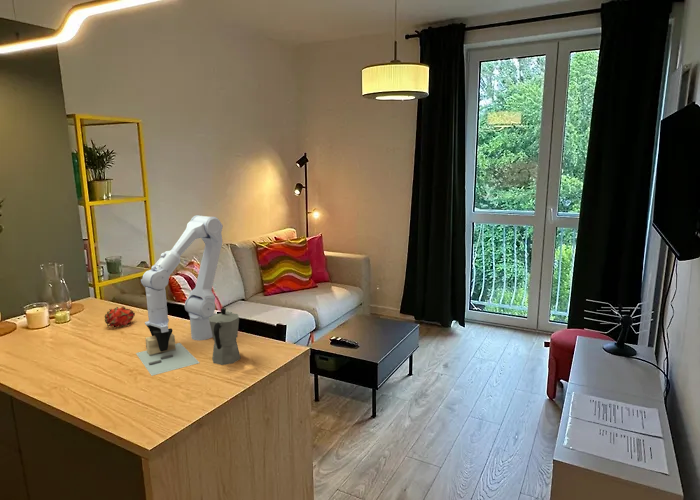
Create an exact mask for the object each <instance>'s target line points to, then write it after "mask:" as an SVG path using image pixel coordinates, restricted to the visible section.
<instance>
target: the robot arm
mask: <svg viewBox="0 0 700 500" xmlns="http://www.w3.org/2000/svg"><path fill="white" fill-rule="evenodd" d="M223 228H224V225H223V224H222V222H221V221H220V219H219V218H218V217H216V216H206V215H201V214H200V215H199V214H197V215H194V216H192V217H191V219H190V221H188V223H187V224H186V228H185V229H184V231H183V232H182V234H181V235H180V237H179V238H178V240H177V241H176V242H175V244H174V245H173V247H172V248H171V250H166V251H164V252H161V254H160V257H159V258H158V260H157V261H156V262H155V264H153V265H152V266H151V269H149V270H146V271H145V272H144V273H143V275H142V278H141V279H140V283H141V285H142V286H143V287H144V288H145V290H144V291H145V297H146V306H147V307H146V308H147V315H148V320H147V321H144V324H145V326H146V327H147V328H148V331H149V332H150V335H151V336H155V337H156V339H157V342H158V346H159V349H160V351H165V350H167V349H168V344H169V338H170V336H171V333H172V334H173V328H169V321H170V318H169V315H168V314H169V313H168V306H167V304H168V303H167V293H166V287H167V286H168V285H169V279H170V277H171V276H170V275H172V273H174V270H176V269H177V267H178V266H179V264H180V263H181V256H182V255H183V253H184V252H186V251H187V249H189V247H190V246H191V244H192V243H193V242H194V241H196V240H197V239H201V240H202V241H203V243H204V249H203V254H202V258H201V261H200V266H199V270H198V274H197V278H196V282H195V287H194V288H193V289H192V290H191V291H190V292H189V295H188V297H187V298H186V299H185V301H184V310H185V311H186V312H187V313H188V316H189V321H190V322H189V323H190V324H189V325H190V336H191V340H193V341H206V340H209V339H213V335H212V331H211V326H210V322H209V317H211V316H213V315H215V314H216V313H215V311H216V296H215V294H214V293H213V291H212V290H213V285H214V281H215V276H216V271H217V268H218V264H219V259H220V254H221V249H222V246H223V245H222V244H223V235H222V231H223Z"/></svg>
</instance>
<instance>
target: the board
mask: <svg viewBox="0 0 700 500" xmlns="http://www.w3.org/2000/svg"><path fill="white" fill-rule="evenodd" d="M175 347H176V350H174V351H170V352H166V353H161V354H157V355H153V356H149V354H148V353H147V350H142V351H140V352H135V354H136V356H137V357H138V359H139V360H140V361H141V363H142V364H143V366H144V368H145V369H146V370H147V372H148V373H149V374H150V376H152V377H153V376H156V375H161V374H163V373H167V372H171V371H175V370H179V369H182V368H186V367H190V366H193V365H197V364H200V361H199V360H198V359H197V358H196V357H195V356H194V355H193V354H192V353H190V351H189V350H188V349H187V348H186V347H185V346H184V345H183V344H182V343H181V342H177V343H176V342H175ZM168 355H173V357H171V358H167V359H163V360H161V357H163V356H168ZM158 360H161V361H162V362H161V363H157V364H153V365H149V363H150V362H154V361H158Z"/></svg>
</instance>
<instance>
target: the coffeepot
mask: <svg viewBox="0 0 700 500" xmlns="http://www.w3.org/2000/svg"><path fill="white" fill-rule="evenodd" d="M220 312H221V313H215V315H213V316H211V317H209V322H210V326H211V331H212V335H213V337H212V339H213V349H212V358H211V359H212V363H213V364H217V365H221V366H224V365H225V366H226V365H231V364H235V363H236V362H238V361H239V360H241V355H240V350H239V349H240V348H239V345H238V342H237V338H238V334H239V324H240V317H239V314H238V313H233V312H232V311H227V308H225V307H222V308H220Z"/></svg>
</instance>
